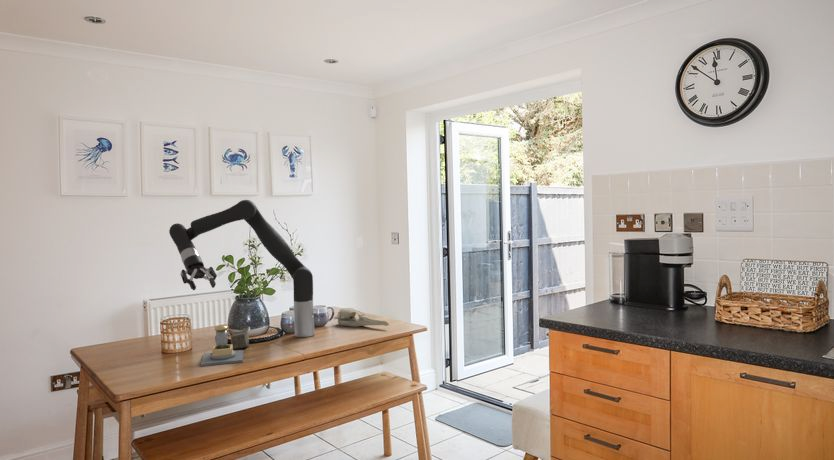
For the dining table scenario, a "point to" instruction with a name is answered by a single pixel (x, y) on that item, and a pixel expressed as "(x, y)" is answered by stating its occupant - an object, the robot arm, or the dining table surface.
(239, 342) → the rock
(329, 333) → the dining table surface
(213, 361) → the grey tray with block
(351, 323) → the bird skull
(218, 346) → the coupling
